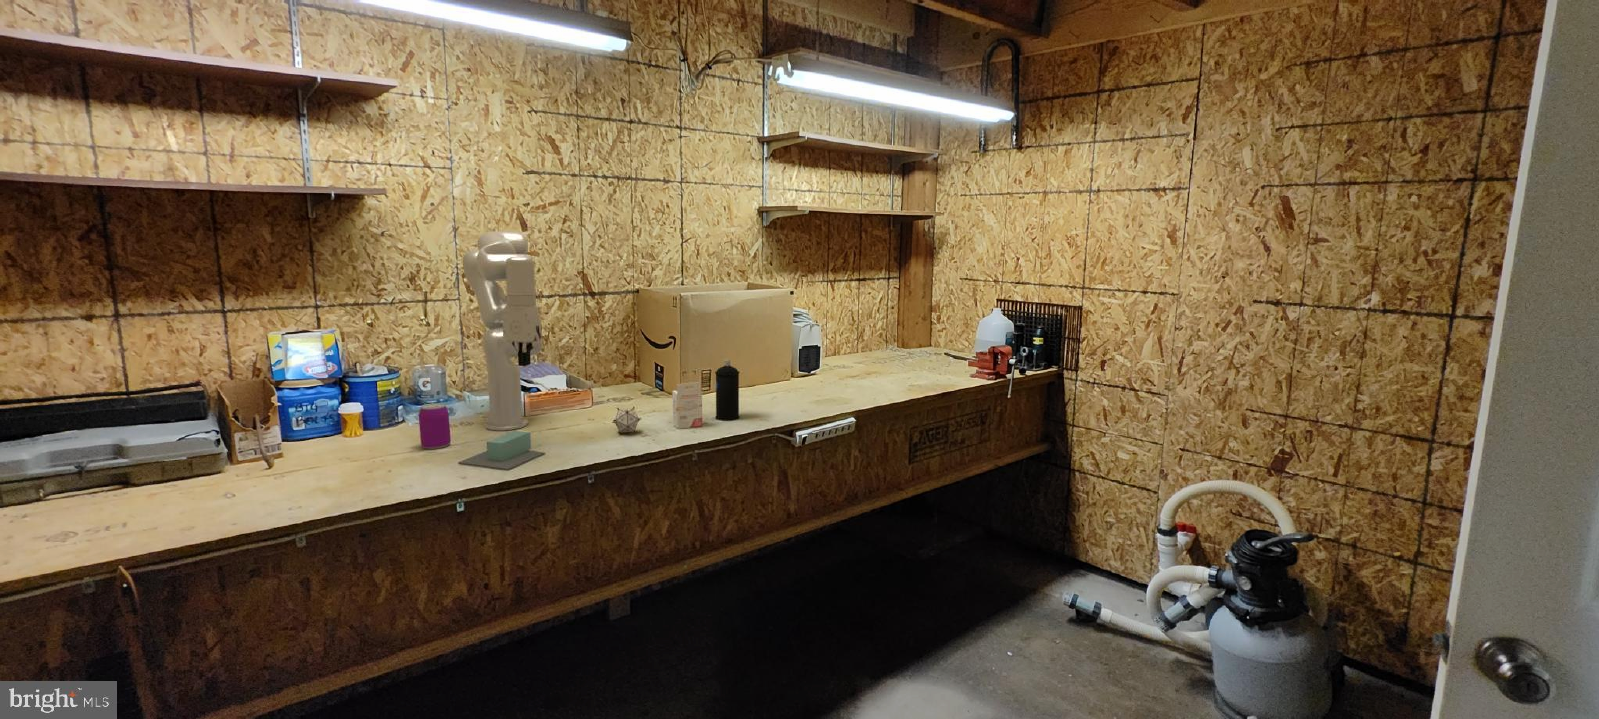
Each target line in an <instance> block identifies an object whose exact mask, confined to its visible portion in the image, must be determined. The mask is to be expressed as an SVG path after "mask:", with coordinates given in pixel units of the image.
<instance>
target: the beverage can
mask: <svg viewBox="0 0 1599 719" xmlns="http://www.w3.org/2000/svg"><path fill="white" fill-rule="evenodd" d="M418 424H419V426H418V427H419V436H420V437H419V438H420V445H421V447H423V448H424V449H426V450H437V449H443V448H446V447H448V446H449V445H450V443H451V429H450V428H451V427H450V426H451V425H450V412H449V409H448V408H447V406H446V404H445V403H442V402H441V403H439V402H434V403H432V402H431V403H427V404H423V405H421V406H420V409H419V413H418Z"/></svg>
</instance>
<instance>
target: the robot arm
mask: <svg viewBox="0 0 1599 719" xmlns="http://www.w3.org/2000/svg"><path fill="white" fill-rule="evenodd" d="M528 244H529V243H528V240H527V238H526V237H525V235H524V234H523V233H522V232H520V231H502V230H501V231H497V230H496V231H487V232H484V233H482V234H481V235H479V238H478V239H477V242H476V245H477V248H476V249H472V250H469V251H467V252H466V253H464V254H463V257H462V268H463V274H464V278H465V279H466V280H467V283H468V285H469V286H470V288H471V289H472V291H473V293H474V295H475V297H476V302H477V306H478V310H479V313H480V319H481V321H482V323H483V325H484V327H485V328H487V329H488V330H486V331H485V332H484V333H483V334H482V339H481V342H482V343H481V344H482V347H483V353H484V355H485V362H486V371H487V372H486V373H487V382H488V383H487V384H488V385H487V387H488V401H489V402H488V403H489V410H484V411H483V413H482V414H481V418H482V419H487V422H485V425H484V426H485V428H486V429H487V430H491V431H511V430H518V429H522V428H524V427H527V425H529V424H528V423H529V421H528V419H527V418H524V417H523V403H522V384H521V372H520V369H519V367H527V366H529V365H531V356H536V355H538V354H540V352H542V349H543V339H542V335H543V334H542V333H543V332H542V321H541V316H540V311H539V307H538V305H537V298H536V273H535V261H534V258H532V257H531V256H529V255H528V253H529V245H528ZM503 281H505V282H506V284H505V285H506V286H505V287H506V295H505V290H504V289H503V286H501V285H500V284H499V283H498V282H503ZM512 358H517V362H518V363H517V365H518V366H519V367H518V366H517V365H516V364H515V362H513V361H512Z"/></svg>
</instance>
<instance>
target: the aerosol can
mask: <svg viewBox="0 0 1599 719" xmlns="http://www.w3.org/2000/svg"><path fill="white" fill-rule="evenodd" d="M714 374H715V419H716V420H718V421H724V422H726V421H727V422H729V421H731V422H732V421H736V420H739V419H740V415H739V414H740V413H739V412H740V401H739V399H740V398H739V395H740V377H739V376H740V371H739V370H738V369H737V368H736V367H734V366H731V359H724V364H723V366H721V367H719V368H718V369H717V370H716V371H715V373H714Z"/></svg>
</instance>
